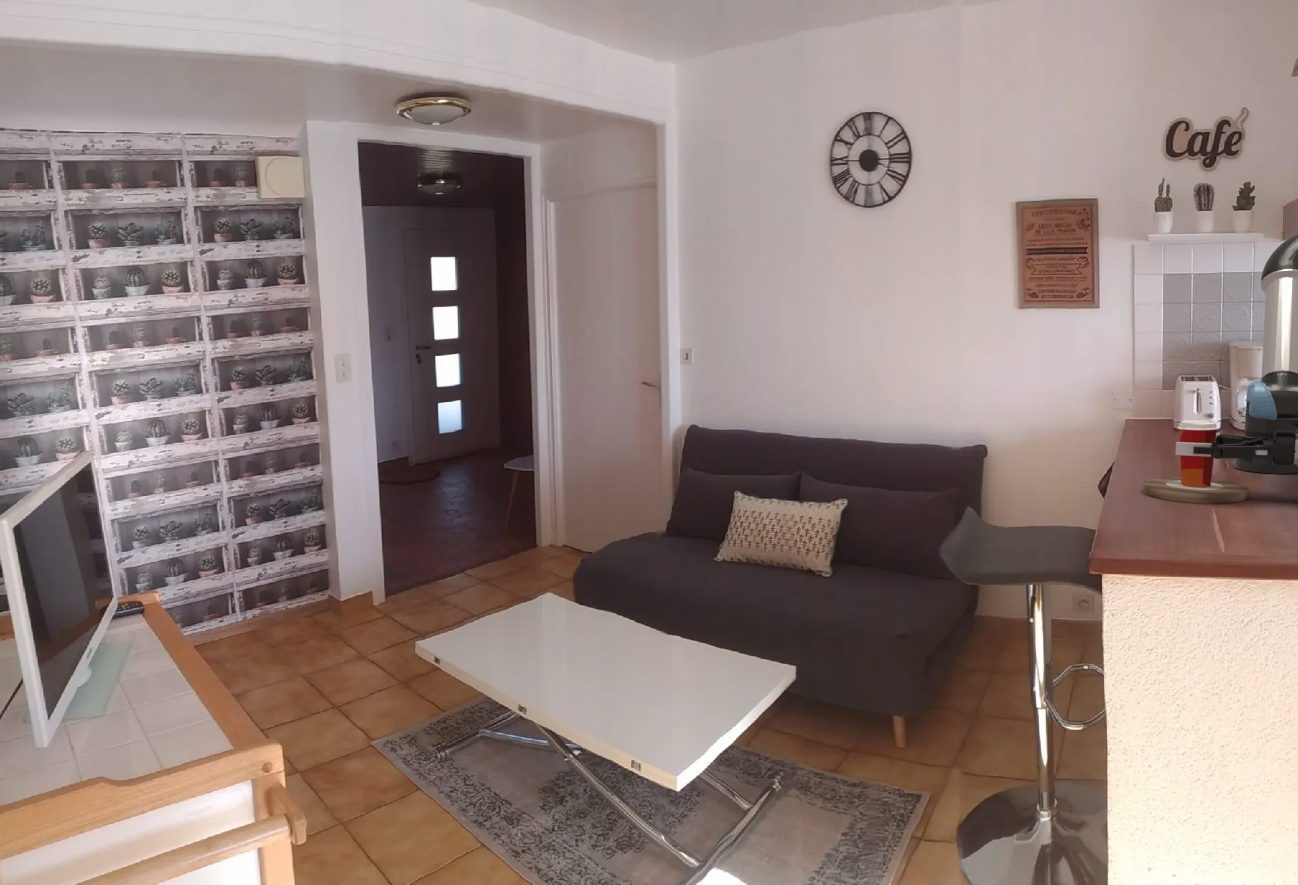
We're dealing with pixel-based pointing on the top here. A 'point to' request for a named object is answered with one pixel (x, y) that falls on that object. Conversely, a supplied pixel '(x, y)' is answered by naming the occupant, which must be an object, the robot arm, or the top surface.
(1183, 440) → the paper cup
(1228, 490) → the disc
